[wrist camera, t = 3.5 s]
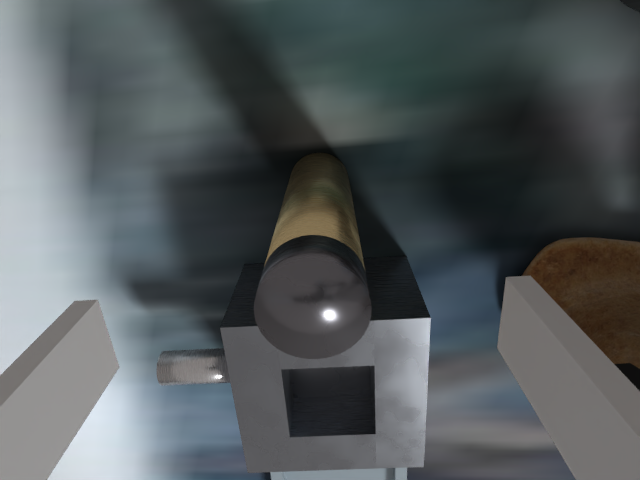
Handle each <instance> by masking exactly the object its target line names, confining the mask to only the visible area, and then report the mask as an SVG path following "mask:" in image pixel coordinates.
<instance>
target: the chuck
mask: <svg viewBox="0 0 640 480" xmlns="http://www.w3.org/2000/svg"><path fill="white" fill-rule="evenodd" d="M363 261H364V267H365V273H366V278H367V284H368V289H369V295H370V301H371V319H370V323H369V325H368V328H367V330H366V332H365V333H364V335H363V336H362V338H361V339H360V340H359V341H358V342H357V343H356V344H355V345H354V346H352V347H351V348H350V349H348V350H346V351H345V352H343V353H340V354H338V355H335V356H332V357H328V358H323V359H305V358H299V357H295V356H292V355H289V354H286V353H284V352H282V351H280V350H279V349H277V348H276V347H274V346H273V345H272V344H270V343H269V342H268V341H267V340H266V338H265V337H264V336H263V335H262V333H261V332H260V330H259V328H258V326H257V323H256V320H255V316H254V301H255V297H256V293H257V290H258V286H259V283H260V279H261V276H262V272H263V269H264V265H265V263H262V264H244V267H243V270H242V272H241V275H240V277H239V280H238V283H237V285H236V288H235V290H234V293H233V296H232V298H231V301H230V303H229V306H228V308H227V311H226V314H225V316H224V319H223V321H222V324H221V327H220V330H221V335H222V341H223V346H224V348H216V349H194V350H172V351H163V352H162V353H161V354H160V356H159V359H158V363H157V378H158V382H159V384H160V385H186V384H210V383H231V387H232V393H233V398H234V403H235V408H236V413H237V419H238V424H239V429H240V434H241V439H242V445H243V450H244V455H245V460H246V465H247V471H248V473H260V472H289V471H319V470H348V469H378V468H407V467H424V451H425V430H426V408H427V386H428V365H429V343H430V321H431V317H430V315H429V312H428V310H427V307H426V305H425V302H424V300H423V297H422V295H421V292H420V290H419V287H418V285H417V282H416V279H415V277H414V274H413V272H412V269H411V267H410V264H409V262H408V259H407V257H406V256H394V257H375V258H363Z"/></svg>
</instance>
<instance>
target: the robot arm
mask: <svg viewBox="0 0 640 480" xmlns="http://www.w3.org/2000/svg"><path fill="white" fill-rule="evenodd" d="M620 1H621V2H623V3H624V4H626V5H627V6H629V7H631V8H633V9H635V10H637V11H639V12H640V0H620ZM497 348H498V350H499V352H500V353H501V355H502V357H503V359H504V360H505V362H506V364H507V365H508V367H509V369H510V370H511V372H512V374H513V375H514V377H515V379H516V380H517V382H518V384H519V385H520V387H521V389H522V390H523V392H524V394H525V395H526V397H527V399H528V400H529V402H530V404H531V405H532V407H533V409H534V410H535V412H536V414H537V415H538V417H539V419H540V420H541V422H542V424H543V425H544V427H545V429H546V430H547V432H548V434H549V435H550V437H551V439H552V440H553V442H554V444H555V445H556V447H557V449H558V450H559V452H560V454H561V455H562V457H563V459H564V460H565V462H566V464H567V465H568V467H569V469H570V470H571V472H572V474H573V475H574V477H575V479H576V480H640V369H639V368H638V367H636V366H634V365H633V364H631V363H622V364H613V362H612V361H611V360H610V359H609V358H608V357H607V356H606V355H605V354H604V353H603V352H602V351H601V350H600V349H599V348H598V347H597V346H596V344H595V343H594V342H593V341H592V340H591V339H590V338H589V337H588V336H587V335H586V334H585V333H584V332H583V331H582V330H581V329H580V328H579V326H578V325H577V324H576V323H575V322H574V321H573V320H572V319H571V318H570V317H569V316H568V315H567V314H566V313H565V312H564V311H563V310H562V308H561V307H560V306H559V305H558V304H557V303H556V302H555V301H554V300H553V299H552V298H551V297H550V296H549V295H548V294H547V293H546V292H545V290H544V289H543V288H542V287H541V286H540V285H539V284H538V283H537V282H536V281H535V280H534V279H533V278H532V277H531V276H515V277H506V281H505V289H504V297H503V305H502V313H501V321H500V329H499V337H498V345H497ZM118 369H119V364H118V361H117V358H116V355H115V352H114V349H113V346H112V342H111V339H110V336H109V333H108V330H107V327H106V324H105V321H104V317H103V314H102V311H101V308H100V305H99V302H98V300H85V301H74V302H73V303H72V304H71V305H70V306H69V307H68V308H67V309H66V310H65V311H64V312H63V313H62V314H61V315H60V316H59V317H58V318H57V319H56V320H55V321H54V322H53V323H52V324H51V325H50V326H49V327H48V328H47V329H46V330H45V331H44V332H43V333H42V334H41V335H40V336H39V337H38V338H37V339H36V340H35V341H34V342H33V343H32V344H31V345H30V346H29V347H28V348H27V349H26V350H25V351H24V352H23V353H22V354H21V355H20V356H19V357H18V358H17V359H16V360H15V361H14V362H13V363H12V364H11V365H10V366H9V367H8V368H7V369H6V370H5V371H4V372H3V373H2V374H1V375H0V480H47V479H48V477H49V476H50V474H51V473H52V471H53V469H54V468H55V466H56V465H57V463H58V462H59V460H60V459H61V457H62V455H63V454H64V452H65V451H66V449H67V448H68V446H69V445H70V443H71V442H72V440H73V438H74V437H75V435H76V434H77V432H78V431H79V429H80V428H81V426H82V424H83V423H84V421H85V420H86V418H87V417H88V415H89V414H90V412H91V410H92V409H93V407H94V406H95V404H96V403H97V401H98V400H99V398H100V397H101V395H102V393H103V392H104V390H105V389H106V387H107V386H108V384H109V383H110V381H111V379H112V378H113V376H114V375H115V373H116V372H117V370H118Z"/></svg>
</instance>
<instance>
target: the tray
mask: <svg viewBox="0 0 640 480" xmlns="http://www.w3.org/2000/svg"><path fill="white" fill-rule="evenodd" d="M270 473H271V480H407V468H378V469H348V470H319V471H289V472H270Z"/></svg>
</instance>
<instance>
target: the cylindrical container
mask: <svg viewBox="0 0 640 480" xmlns="http://www.w3.org/2000/svg"><path fill="white" fill-rule="evenodd" d="M254 316H255V320H256V323H257V326H258V328H259V330H260V332H261V333H262V335H263V336H264V337H265V338H266V340H267V341H268V342H269V343H270V344H272V345H273V346H274V347H276V348H277V349H279V350H280V351H282V352H284V353H286V354H289V355H292V356H295V357H299V358H305V359H323V358H328V357H332V356H335V355H338V354H340V353H343V352H345V351H346V350H348V349H350V348H351V347H352V346H354V345H355V344H356V343H357V342H358V341H359V340H360V339H361V338H362V336H363V335H364V333H365V332H366V330H367V328H368V325H369V323H370V319H371V301H370V295H369V289H368V284H367V278H366V273H365V267H364V261H363V256H362V250H361V245H360V239H359V234H358V228H357V222H356V217H355V211H354V206H353V200H352V194H351V189H350V183H349V178H348V173H347V170H346V168H345V167H344V165H343V164H342V162H341V161H340V160H338V159H337V158H336V157H334V156H332V155H330V154H327V153H312V154H309V155H306V156H305V157H303V158H301V159H300V160H299V161H298V162H297V163H296V165H295V166H294V168H293V170H292V172H291V176H290V179H289V183H288V186H287V190H286V193H285V197H284V200H283V203H282V207H281V210H280V214H279V217H278V221H277V224H276V228H275V231H274V234H273V238H272V241H271V245H270V248H269V252H268V255H267V259H266V262H265V265H264V269H263V272H262V276H261V279H260V283H259V286H258V290H257V293H256V297H255V301H254Z"/></svg>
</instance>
